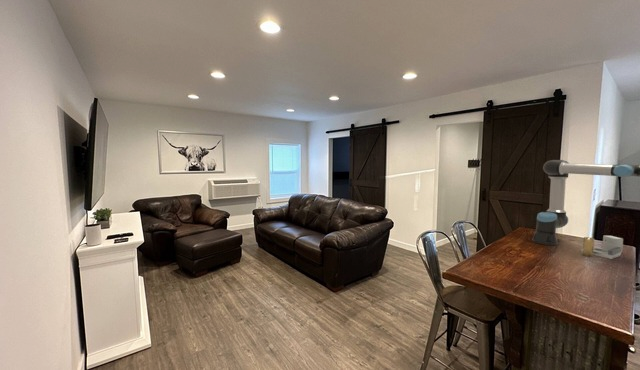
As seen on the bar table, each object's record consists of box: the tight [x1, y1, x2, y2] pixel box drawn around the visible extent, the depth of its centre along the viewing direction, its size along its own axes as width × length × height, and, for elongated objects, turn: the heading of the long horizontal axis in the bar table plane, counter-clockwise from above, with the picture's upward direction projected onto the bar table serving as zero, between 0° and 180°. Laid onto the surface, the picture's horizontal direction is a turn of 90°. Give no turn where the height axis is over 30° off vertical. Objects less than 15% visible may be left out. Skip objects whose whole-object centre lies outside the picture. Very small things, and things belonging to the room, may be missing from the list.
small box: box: [601, 235, 624, 254], centre depth 185 cm, size 8×6×10 cm
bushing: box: [581, 236, 595, 258], centre depth 176 cm, size 5×5×12 cm
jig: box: [580, 245, 622, 260], centre depth 180 cm, size 15×15×6 cm
